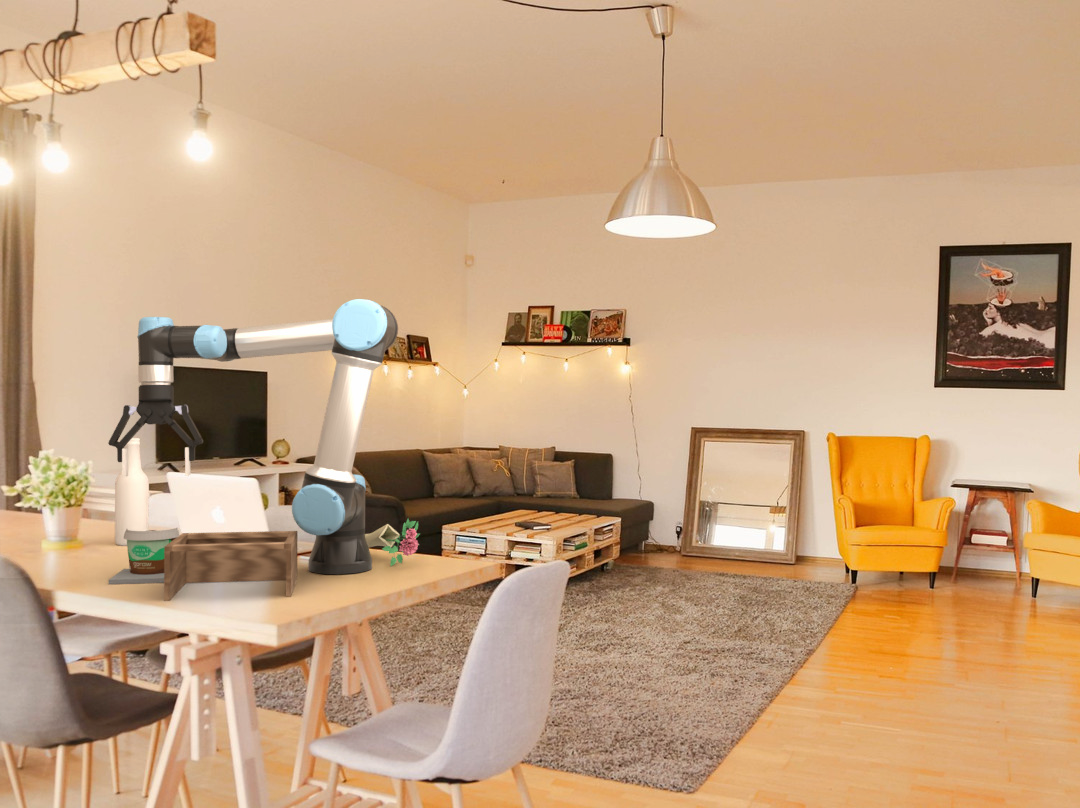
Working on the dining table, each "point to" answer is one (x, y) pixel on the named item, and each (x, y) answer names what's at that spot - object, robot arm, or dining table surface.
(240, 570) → the access cubby
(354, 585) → the dining table surface
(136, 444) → the alcohol
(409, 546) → the flower vase
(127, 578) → the mat
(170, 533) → the food container
